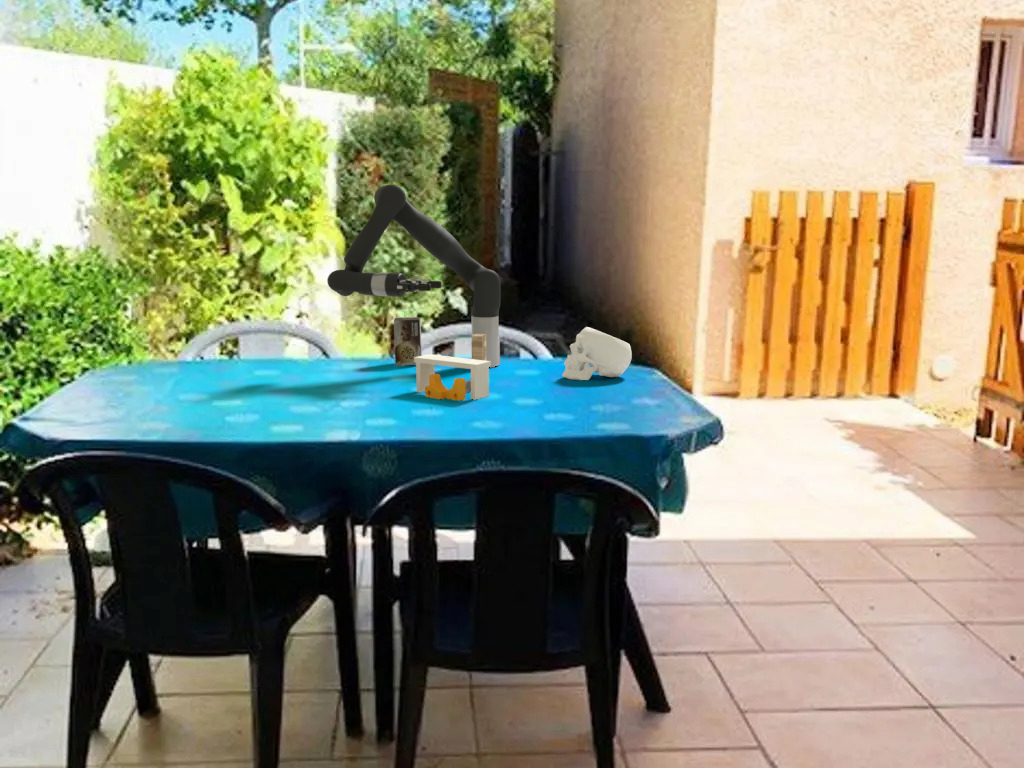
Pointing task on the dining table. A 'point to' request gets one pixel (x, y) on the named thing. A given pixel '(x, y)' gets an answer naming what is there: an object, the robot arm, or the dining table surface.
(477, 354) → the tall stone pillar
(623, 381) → the dining table surface
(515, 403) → the dining table surface
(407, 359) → the coffee box
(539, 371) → the dining table surface
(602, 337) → the skull planter
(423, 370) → the shelf
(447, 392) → the pipe clamp
